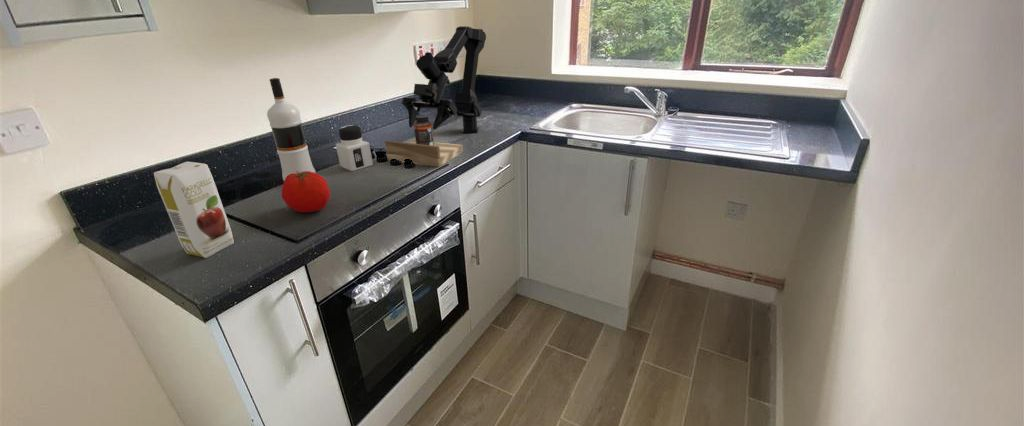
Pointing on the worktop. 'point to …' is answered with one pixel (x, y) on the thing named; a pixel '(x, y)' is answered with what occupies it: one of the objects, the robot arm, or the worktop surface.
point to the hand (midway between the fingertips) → (421, 128)
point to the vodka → (288, 134)
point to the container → (353, 149)
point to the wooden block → (423, 152)
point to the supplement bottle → (423, 130)
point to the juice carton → (194, 208)
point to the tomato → (305, 191)
